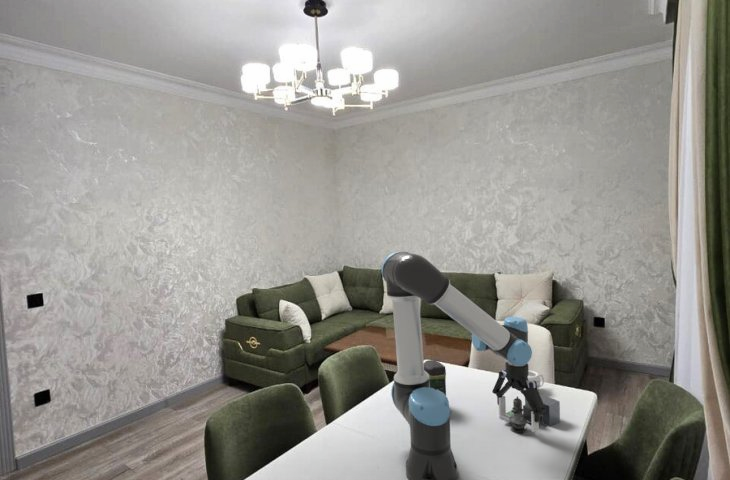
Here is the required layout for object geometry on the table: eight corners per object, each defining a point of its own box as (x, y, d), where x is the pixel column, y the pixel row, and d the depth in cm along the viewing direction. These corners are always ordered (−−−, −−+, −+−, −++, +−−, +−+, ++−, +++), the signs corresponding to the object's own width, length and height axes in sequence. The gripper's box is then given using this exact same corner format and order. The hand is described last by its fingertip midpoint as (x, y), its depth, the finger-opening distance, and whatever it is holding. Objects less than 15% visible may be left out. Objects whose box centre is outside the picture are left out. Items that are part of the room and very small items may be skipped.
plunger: (535, 424, 143) (535, 410, 142) (510, 413, 152) (510, 400, 151) (551, 417, 147) (551, 403, 147) (526, 406, 156) (526, 393, 156)
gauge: (533, 434, 138) (533, 413, 138) (499, 417, 151) (498, 398, 150) (559, 421, 146) (559, 401, 146) (525, 406, 158) (524, 387, 158)
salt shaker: (508, 432, 140) (507, 398, 140) (510, 424, 146) (509, 391, 145) (526, 435, 138) (525, 401, 137) (528, 427, 143) (527, 394, 142)
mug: (529, 397, 166) (528, 378, 166) (514, 389, 174) (514, 371, 174) (551, 391, 171) (551, 373, 170) (536, 384, 179) (536, 366, 178)
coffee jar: (450, 412, 156) (448, 365, 155) (431, 415, 154) (429, 367, 153) (439, 401, 166) (438, 357, 165) (421, 404, 164) (420, 359, 163)
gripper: (556, 370, 132) (557, 434, 133) (495, 351, 153) (497, 406, 154) (542, 376, 128) (543, 441, 129) (481, 355, 149) (483, 411, 150)
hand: (518, 422), depth 142 cm, fingers open, 13 cm apart
